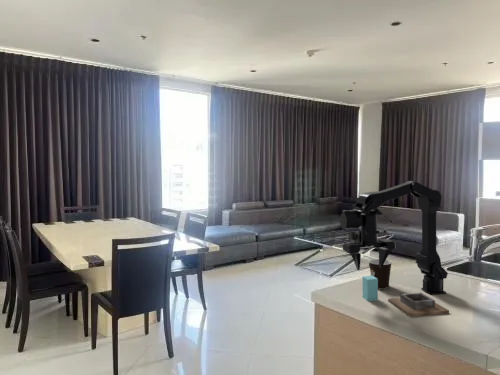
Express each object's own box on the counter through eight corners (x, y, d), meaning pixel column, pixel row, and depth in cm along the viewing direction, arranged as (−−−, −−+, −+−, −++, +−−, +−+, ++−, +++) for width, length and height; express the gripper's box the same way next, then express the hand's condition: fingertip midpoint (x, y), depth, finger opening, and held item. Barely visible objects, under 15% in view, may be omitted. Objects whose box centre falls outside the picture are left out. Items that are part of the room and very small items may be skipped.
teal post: (372, 296, 142) (372, 275, 142) (377, 300, 138) (377, 278, 138) (362, 297, 142) (362, 276, 141) (367, 301, 138) (367, 279, 137)
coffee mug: (393, 289, 149) (393, 265, 148) (370, 288, 150) (370, 264, 150) (388, 280, 160) (388, 257, 159) (367, 279, 162) (367, 257, 161)
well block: (423, 298, 139) (423, 289, 138) (448, 313, 125) (449, 303, 125) (388, 301, 137) (388, 292, 136) (409, 316, 123) (409, 306, 123)
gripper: (379, 222, 149) (379, 261, 150) (335, 225, 144) (336, 265, 145) (396, 226, 138) (396, 268, 139) (349, 230, 133) (350, 273, 134)
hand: (369, 268), depth 140 cm, fingers open, 9 cm apart
